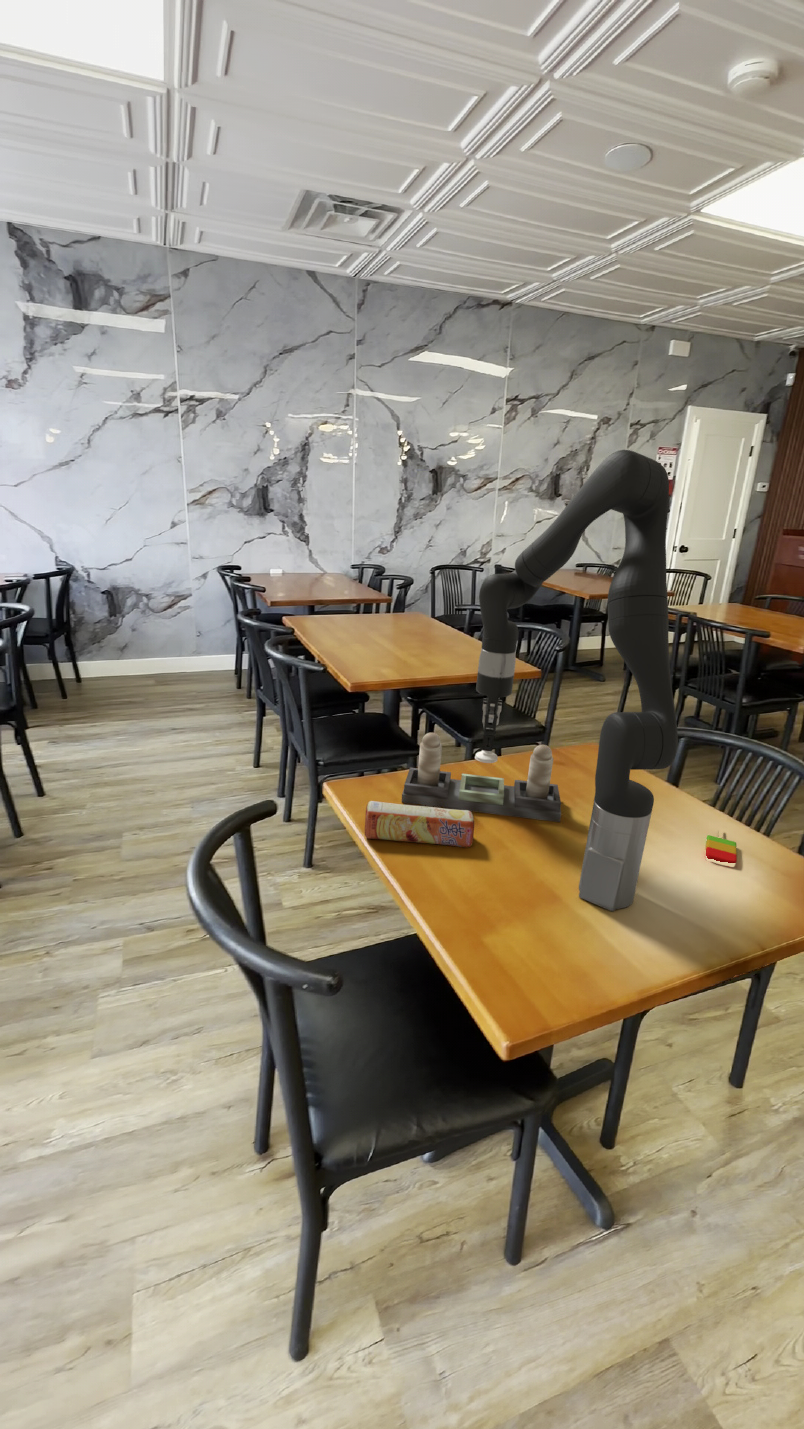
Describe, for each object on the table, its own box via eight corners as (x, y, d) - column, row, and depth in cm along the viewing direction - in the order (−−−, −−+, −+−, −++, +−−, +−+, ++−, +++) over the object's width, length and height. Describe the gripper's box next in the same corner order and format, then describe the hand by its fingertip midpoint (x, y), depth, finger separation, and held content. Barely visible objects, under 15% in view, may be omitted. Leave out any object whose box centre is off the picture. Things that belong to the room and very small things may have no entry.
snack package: (471, 835, 131) (474, 804, 128) (472, 852, 124) (476, 820, 122) (366, 825, 131) (367, 795, 129) (362, 842, 125) (363, 811, 123)
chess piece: (480, 764, 139) (485, 720, 135) (471, 755, 143) (475, 712, 140) (501, 762, 140) (506, 718, 137) (491, 753, 144) (496, 711, 141)
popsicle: (703, 862, 126) (706, 854, 126) (706, 830, 139) (708, 822, 139) (735, 871, 124) (737, 862, 124) (734, 837, 137) (736, 829, 136)
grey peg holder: (555, 799, 148) (565, 738, 143) (559, 822, 138) (570, 757, 133) (408, 781, 152) (412, 722, 147) (401, 802, 142) (405, 739, 137)
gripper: (514, 681, 128) (504, 762, 134) (514, 664, 141) (504, 738, 147) (476, 678, 129) (468, 758, 135) (479, 661, 142) (471, 734, 148)
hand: (487, 747), depth 141 cm, fingers closed on chess piece
